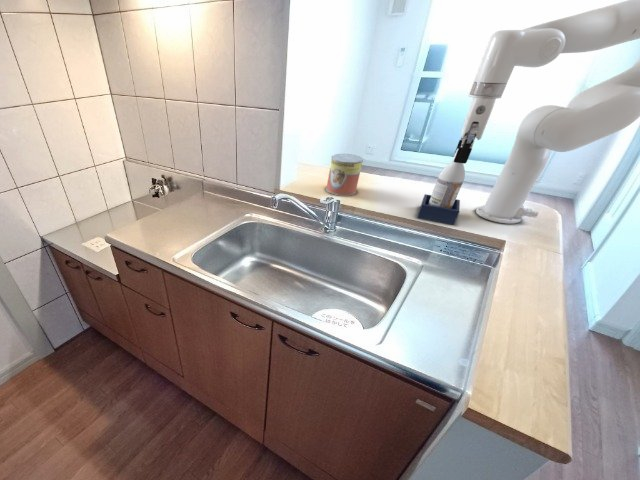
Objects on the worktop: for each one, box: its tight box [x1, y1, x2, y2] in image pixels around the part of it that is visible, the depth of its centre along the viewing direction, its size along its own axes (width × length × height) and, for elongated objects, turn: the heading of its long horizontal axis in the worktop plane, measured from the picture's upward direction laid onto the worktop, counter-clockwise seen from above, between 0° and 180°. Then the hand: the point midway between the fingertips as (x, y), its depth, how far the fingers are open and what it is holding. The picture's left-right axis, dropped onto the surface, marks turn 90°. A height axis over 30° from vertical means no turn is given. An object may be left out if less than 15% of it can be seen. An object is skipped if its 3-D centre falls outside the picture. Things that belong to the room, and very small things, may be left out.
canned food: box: [325, 153, 364, 197], centre depth 122 cm, size 11×11×12 cm
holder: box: [416, 193, 461, 226], centre depth 106 cm, size 11×11×4 cm
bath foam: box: [428, 149, 466, 209], centre depth 101 cm, size 7×7×20 cm
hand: (459, 158), depth 96 cm, fingers open, 9 cm apart
